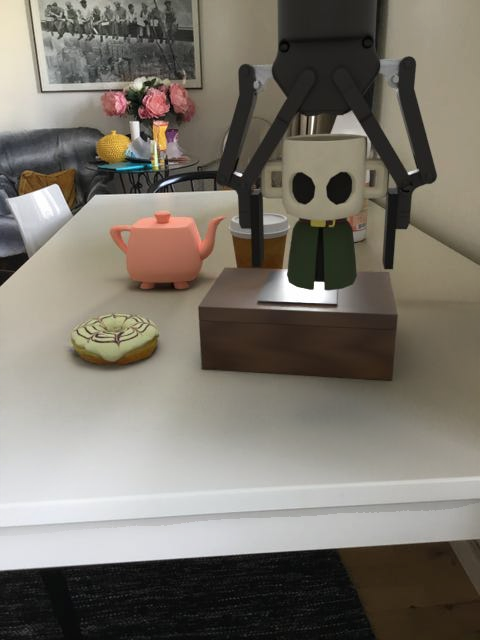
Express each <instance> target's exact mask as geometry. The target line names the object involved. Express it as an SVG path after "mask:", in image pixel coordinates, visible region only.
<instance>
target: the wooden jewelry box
mask: <svg viewBox="0 0 480 640" xmlns="http://www.w3.org/2000/svg"><path fill="white" fill-rule="evenodd" d="M287 271H288V268H282V269H263V268H237V267H227V266H226V267H224V268H223V269H222V271H221V273H220V274H219V275H218V277H217V278H216V279H215V281H214V283H213V284H212V285H211V287H210V288H209V290H208V291H207V293H206V294H205V296H204V297H203V298H202V300H201V302H200V303H199V304H198V306H197V308H198V309H197V311H198V328H199V345H200V346H199V347H200V363H201V365H200V366H201V370H213V371H227V372H228V371H231V372H245V373H248V372H249V373H262V374H263V373H264V374H265V373H266V374H279V375H296V376H297V375H298V376H312V377H313V376H314V377H327V378H328V377H329V378H343V379H345V378H346V379H361V380H377V381H379V380H380V381H393V376H394V362H395V352H396V341H397V340H396V339H397V330H398V319H399V318H398V317H399V315H398V309H397V304H396V301H395V295H394V290H393V284H392V279H391V276H390V272H389V271H368V270H367V271H366V270H362V271H361V270H356V273H357V277H356V279H355V281H354V283H353V285H350V286H348V287H345V288H343V289H336V290H329V291H328V290H324V282H315V283H314V290H308V289H303V288H298V287H296V286H294V285H292V284H290V283H289V281H288V277H287Z"/></svg>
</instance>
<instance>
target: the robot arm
mask: <svg viewBox="0 0 480 640" xmlns="http://www.w3.org/2000/svg"><path fill="white" fill-rule="evenodd" d="M377 6H378V0H277V52H276V56H275V59H274V61H273V63H272V64H256V65H253V64H250V63H242V64H241V65H240V66H239V67H238V71H237V74H238V94H239V95H238V98H237V101H236V105H235V108H234V112H233V115H232V119H231V123H230V126H229V129H228V134H227V137H226V140H225V144H224V148H223V151H222V155H221V157H220V162H219V164H218V165H219V166H218V169H217V172H216V174H215V182H216V184H217V185H219V186H220V187H227V188H230V189H232V190H234V191H235V193H236V194H237V205H238V215H239V224H240V227H241V229H251V249H252V267H261V265H262V262H263V260H264V225H263V213H264V197H262V194H261V188H255V185H256V182H257V181H258V179H259V177H260V173H261V171H262V169H263V168H264V166H265V164H266V163H267V161H268V160H271V157H272V156H273V154H274V153H275V151H276V149H277V148H278V146H279V145H280V143H281V142H282V139H284V136H285V135H286V133H287V131H288V129H289V128H290V126H291V124H292V123H293V121H294V120H295V118H296V117H297V115H298V114H300V115H302V116H304V117H316V116H319V115H323V114H327V115H329V116H337V115H344V114H346V113H348V112H350V111H351V110H352V111H353V113H354V115H355V117H356V118H357V120H358V121H359V123H360V125H361V126H362V128H363V130H364V131H365V133H366V135H367V136H368V138H369V140H370V141H371V146H372V147H373V148H374V150H375V151H376V154H377V156H379V158H381V160H382V161H383V163H384V165H385V166H386V168H387V170H388V171H389V176H390V177H391V179H392V180H393V181H394V184H395V187H389V188H388V193H387V196H386V197H385V212H384V229H383V245H382V257H381V258H382V259H381V260H382V265H383V269H384V270H394V262H395V249H396V247H395V246H396V233H397V230H407V229H408V227H409V226H410V222H411V210H412V209H411V208H412V199H413V194H414V191H415V190H416V189H417V188H419V187H423V186H425V185H431V184H433V183H435V182H436V181H437V178H438V173H437V170H436V166H435V165H436V164H435V162H434V158H433V154H432V151H431V147H430V143H429V140H428V135H427V132H426V128H425V124H424V121H423V120H424V119H423V117H422V116H423V115H422V113H421V109H420V106H419V102H418V98H417V94H416V89H415V83H416V82H415V81H416V70H417V61H416V59H415V57H413V56H409V55H408V56H404V57H402V58H387V59H386V58H385V59H380V57H379V56H378V53H377V49H376V30H377V29H376V28H377V11H378V10H377ZM379 74H381V75H383V76H384V77H385V79H386V84H387V86H389V88H393V89H395V93H396V98H397V103H398V106H399V110H400V113H401V118H402V121H403V124H404V128H405V132H406V135H407V139H408V142H409V145H410V149H411V154H412V157H413V160H414V164H415V167H416V169H415V168H414V169H413V170H410V171H407V169H406V168H405V166H404V164H403V163H402V161H401V158H400V157H399V155H398V154H397V152H396V150H395V149H394V147H393V145H392V143H391V141H390V140H389V139H388V137H387V135H386V134H385V132H384V130H383V128H382V126H381V125H380V123H379V121H378V120H377V118H376V117H375V115H374V113H373V111H372V110H371V108H370V106H369V105H368V103H367V101H366V100H365V98H364V95H365V93H366V92H367V91H368V90H369V88H370V87H371V85H372V84H373V83H374V81H375V80H376V78H377V77H378V76H379ZM271 79H273V80H274V82H275V83H276V85H277V86H278V87H279V89H280V90H281V92H282V93H283V95H284V96H285V97H286V99H285V100H284V102H283V104H282V106H281V107H280V109H279V111H278V112H277V114H276V116H275V118H274V120H273V122H272V124H271V125H270V127H269V128H268V130H267V132H266V134H265V136H263V139H262V140H261V142H260V144H259V146H258V147H257V149H256V151H255V152H254V154H253V156H252V158H251V159H250V161H249V163H248V164H247V166H246V167H245V169H244V170H243V172H242V173H241V172H238V171H237V169H238V165H239V162H240V159H241V156H242V152H243V149H244V146H245V142H246V139H247V137H248V136H247V135H248V132H249V129H250V125H251V122H252V118H253V115H254V113H255V109H256V106H257V101H258V95H259V93H260V94H261V93H263V92H264V91H265V90H266V88H267V84H268V82H269V81H270V80H271Z"/></svg>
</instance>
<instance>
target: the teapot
mask: <svg viewBox="0 0 480 640" xmlns="http://www.w3.org/2000/svg"><path fill="white" fill-rule="evenodd" d="M171 213H172V212H171V211H168V210H160V211H155V212H154V214H153V215H154V216H152V217H151V216H150V217H142V218H140V219H138V220H137V221H136V222H135V223H134V224H133V225H126V224H117V225H113V226H111V227H110V229H109V234H110V236H111V239H112V241H113V242H114V243H115V245H116V246H117V247H118V249H120V251H122V252H123V253H124V254H125V255H126V257H125V265H126V266H125V267H126V271H127V273H128V275H129V277H130V278H131V280H132V281H135V282H142V283H141V284H140V287H139V288H140V289H143V290H149V289H153V288H155V285H156V283H173V286H174V288H175V289H177V290H184V289H188V288H189V287H190V286H189V283H188V282H190V281H194V280H195V279H197V277H198V276H199V275H200V272H201V270H202V267H203V264H204V261H205V260H206V259H208V258H209V257H210V255H212V253H213V251H214V249H215V248H214V247H215V243H216V236H217V235H216V234H217V229H218V226H219V225H220V224H221V222H222V221H223V220H224V219H226V218H227V217H228V215H223V216H217V217H214V218H212V219H211V220H210V221H209V223H208V225H207V228H206V229H207V230H206V236H205V238H204V239H203V241H202V239H201V235H200V232H199V230H198V227H197V225H196V222H195V220H194V218H193V217H189V216H171ZM122 232H129V236H128V241H127V244H126V242H125V240H124V239H123V236H122Z"/></svg>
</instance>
